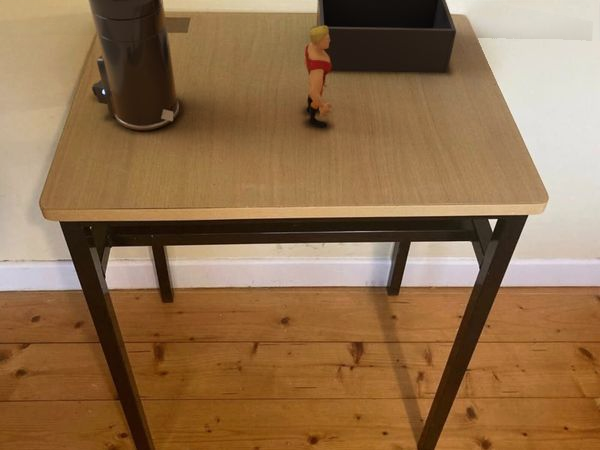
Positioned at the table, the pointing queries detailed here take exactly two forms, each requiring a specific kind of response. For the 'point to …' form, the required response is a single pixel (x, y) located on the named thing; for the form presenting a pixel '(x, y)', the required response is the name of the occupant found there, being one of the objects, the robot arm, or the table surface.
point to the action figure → (317, 72)
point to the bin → (388, 34)
